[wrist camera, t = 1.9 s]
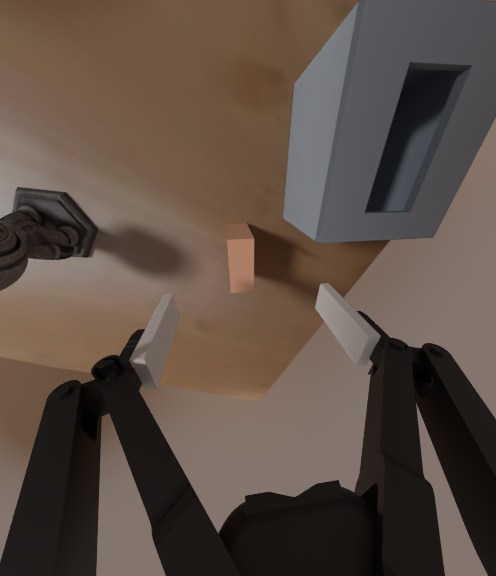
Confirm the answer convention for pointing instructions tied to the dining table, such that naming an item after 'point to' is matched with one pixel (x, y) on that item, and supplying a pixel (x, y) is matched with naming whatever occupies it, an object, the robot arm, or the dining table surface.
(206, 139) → the dining table surface
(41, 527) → the robot arm
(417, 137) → the coin box
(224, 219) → the dining table surface
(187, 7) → the dining table surface
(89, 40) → the dining table surface
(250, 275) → the peach rectangular block
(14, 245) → the figurine
